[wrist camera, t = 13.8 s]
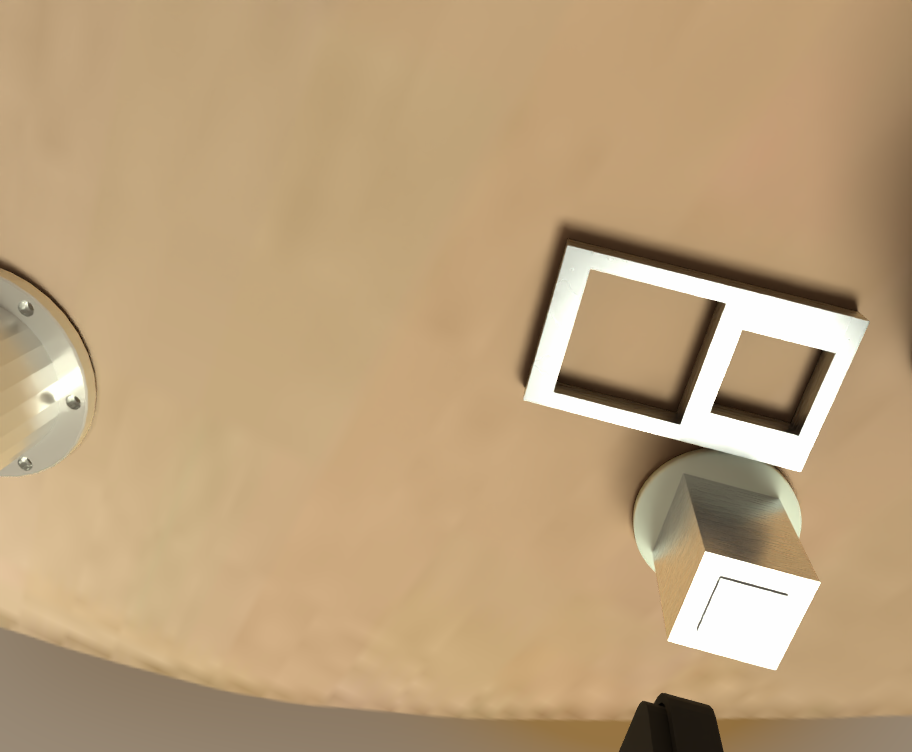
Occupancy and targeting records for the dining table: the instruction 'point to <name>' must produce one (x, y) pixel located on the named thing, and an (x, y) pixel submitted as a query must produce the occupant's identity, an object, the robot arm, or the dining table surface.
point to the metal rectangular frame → (703, 358)
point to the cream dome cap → (712, 467)
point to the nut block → (731, 572)
